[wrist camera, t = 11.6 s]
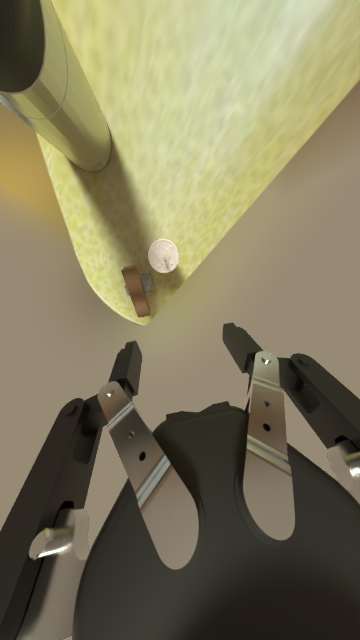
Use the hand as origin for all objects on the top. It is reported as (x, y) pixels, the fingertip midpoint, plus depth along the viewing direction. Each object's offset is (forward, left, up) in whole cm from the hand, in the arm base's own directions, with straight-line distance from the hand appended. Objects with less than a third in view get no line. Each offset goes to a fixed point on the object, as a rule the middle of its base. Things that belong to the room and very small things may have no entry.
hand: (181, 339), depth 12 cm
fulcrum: (+3, -8, -30) cm, 31 cm away
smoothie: (-4, 0, -30) cm, 31 cm away
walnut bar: (+3, -8, -25) cm, 27 cm away
